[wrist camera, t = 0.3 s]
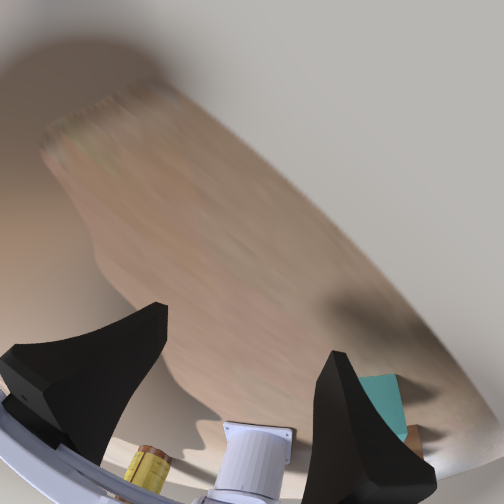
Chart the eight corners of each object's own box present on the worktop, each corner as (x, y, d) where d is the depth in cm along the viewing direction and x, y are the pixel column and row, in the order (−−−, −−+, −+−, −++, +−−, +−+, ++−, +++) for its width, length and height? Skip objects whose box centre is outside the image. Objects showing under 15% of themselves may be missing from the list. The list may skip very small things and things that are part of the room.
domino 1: (392, 385, 23) (403, 443, 17) (342, 389, 24) (344, 449, 18) (395, 373, 23) (407, 433, 16) (343, 378, 24) (345, 440, 18)
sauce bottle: (148, 457, 40) (107, 537, 22) (134, 439, 38) (86, 526, 20) (180, 465, 39) (141, 553, 20) (167, 448, 36) (121, 545, 18)
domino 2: (413, 431, 26) (421, 477, 19) (375, 436, 27) (378, 485, 21) (416, 424, 25) (425, 471, 19) (377, 430, 26) (381, 479, 20)
